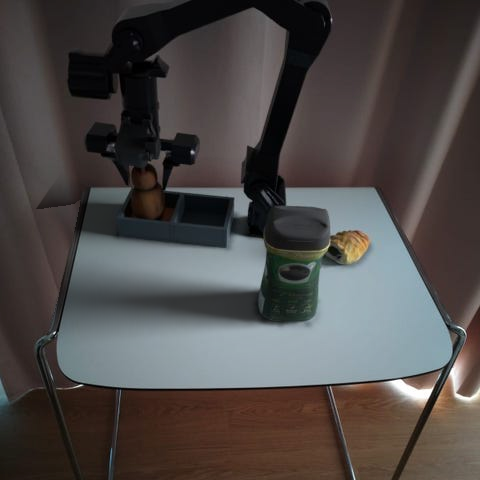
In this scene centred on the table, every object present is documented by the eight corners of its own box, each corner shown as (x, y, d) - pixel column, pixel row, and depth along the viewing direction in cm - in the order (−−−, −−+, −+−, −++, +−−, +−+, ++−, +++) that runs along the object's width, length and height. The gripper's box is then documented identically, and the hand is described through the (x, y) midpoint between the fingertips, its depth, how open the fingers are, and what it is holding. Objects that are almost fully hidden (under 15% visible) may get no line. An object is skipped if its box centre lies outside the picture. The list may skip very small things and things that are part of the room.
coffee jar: (313, 291, 84) (332, 198, 71) (317, 326, 79) (338, 232, 65) (257, 289, 84) (265, 195, 71) (256, 323, 79) (265, 228, 65)
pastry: (349, 232, 96) (353, 216, 93) (377, 250, 93) (382, 233, 90) (317, 252, 92) (320, 236, 89) (345, 271, 88) (350, 254, 86)
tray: (234, 214, 99) (234, 197, 96) (226, 247, 92) (227, 230, 89) (133, 204, 100) (131, 187, 97) (119, 236, 93) (116, 218, 90)
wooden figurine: (160, 231, 93) (150, 159, 82) (131, 227, 94) (116, 155, 82) (170, 210, 97) (161, 138, 86) (142, 206, 98) (129, 135, 87)
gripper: (64, 116, 74) (81, 205, 85) (187, 132, 73) (188, 219, 85) (88, 86, 81) (101, 171, 93) (200, 100, 81) (199, 184, 92)
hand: (146, 186), depth 90 cm, fingers open, 6 cm apart
